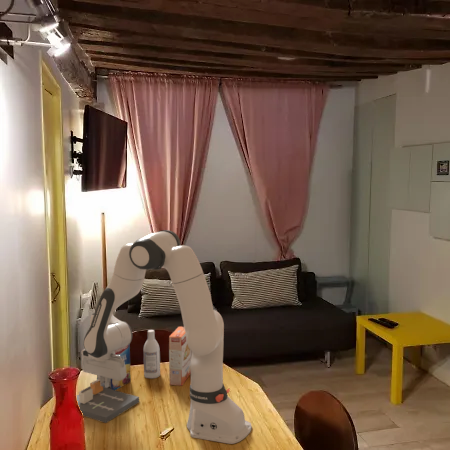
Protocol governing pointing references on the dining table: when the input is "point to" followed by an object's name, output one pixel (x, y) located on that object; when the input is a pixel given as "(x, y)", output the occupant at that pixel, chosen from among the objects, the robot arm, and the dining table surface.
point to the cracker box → (179, 357)
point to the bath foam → (151, 356)
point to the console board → (107, 404)
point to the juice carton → (125, 354)
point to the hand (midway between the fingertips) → (104, 386)
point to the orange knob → (96, 386)
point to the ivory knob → (86, 395)
